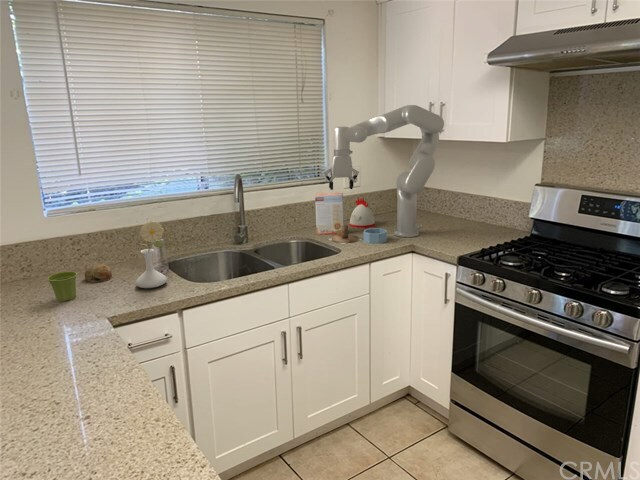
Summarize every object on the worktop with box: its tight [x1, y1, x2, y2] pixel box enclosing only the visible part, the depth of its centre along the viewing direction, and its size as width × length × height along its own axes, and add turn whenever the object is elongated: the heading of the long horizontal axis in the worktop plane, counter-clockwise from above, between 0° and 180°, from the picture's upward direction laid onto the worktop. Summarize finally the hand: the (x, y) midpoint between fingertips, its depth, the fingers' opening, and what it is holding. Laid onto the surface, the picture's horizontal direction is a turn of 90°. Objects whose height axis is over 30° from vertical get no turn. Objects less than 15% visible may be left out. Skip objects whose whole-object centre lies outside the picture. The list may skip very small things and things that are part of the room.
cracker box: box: [314, 192, 345, 236], centre depth 245 cm, size 14×6×21 cm, turn 84°
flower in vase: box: [135, 220, 168, 289], centre depth 178 cm, size 13×11×25 cm
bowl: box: [363, 227, 388, 244], centre depth 231 cm, size 11×11×5 cm
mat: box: [328, 237, 363, 245], centre depth 235 cm, size 12×12×1 cm
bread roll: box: [84, 262, 113, 283], centre depth 190 cm, size 10×10×8 cm
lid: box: [331, 224, 359, 244], centre depth 234 cm, size 13×13×7 cm
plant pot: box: [46, 271, 78, 302], centre depth 170 cm, size 9×9×9 cm
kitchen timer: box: [349, 197, 376, 229], centre depth 261 cm, size 14×14×15 cm
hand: (341, 189), depth 231 cm, fingers open, 9 cm apart
